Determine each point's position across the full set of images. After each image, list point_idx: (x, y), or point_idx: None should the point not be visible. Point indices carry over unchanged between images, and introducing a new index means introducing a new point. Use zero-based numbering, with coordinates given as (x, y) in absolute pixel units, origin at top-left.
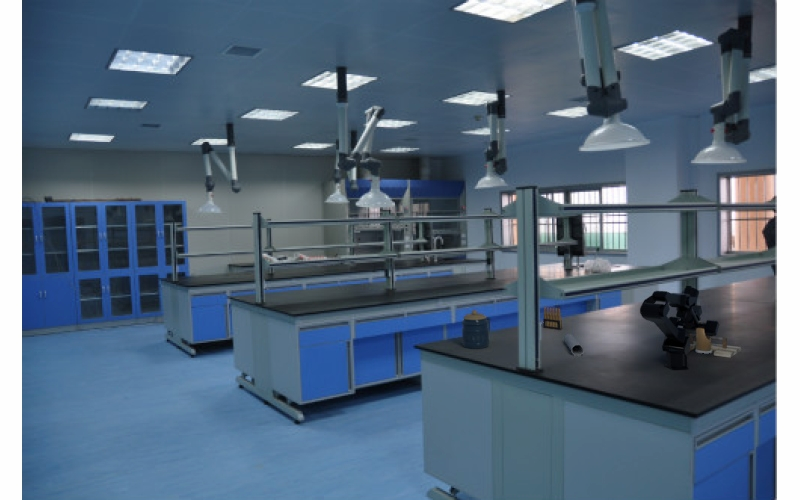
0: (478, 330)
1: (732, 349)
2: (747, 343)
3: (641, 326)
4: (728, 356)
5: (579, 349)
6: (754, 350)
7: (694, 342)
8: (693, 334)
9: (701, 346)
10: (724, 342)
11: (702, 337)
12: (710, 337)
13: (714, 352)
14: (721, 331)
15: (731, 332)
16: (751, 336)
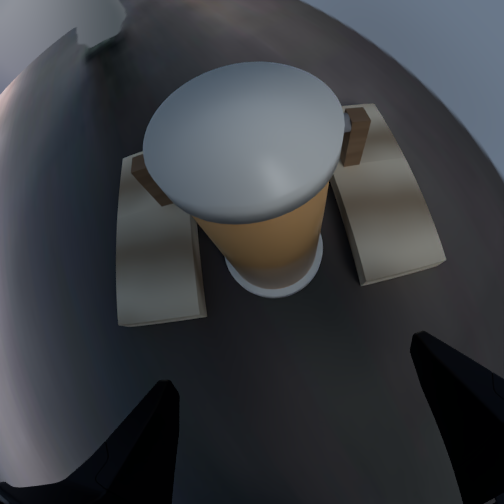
0: None
1: (388, 158)
2: (306, 40)
3: (18, 123)
4: (431, 266)
5: (6, 502)
6: (391, 90)
7: None
8: None
9: (279, 281)
10: (359, 141)
11: (284, 257)
12: (430, 339)
13: (368, 282)
14: (181, 18)
15: (205, 11)
16: (263, 6)
